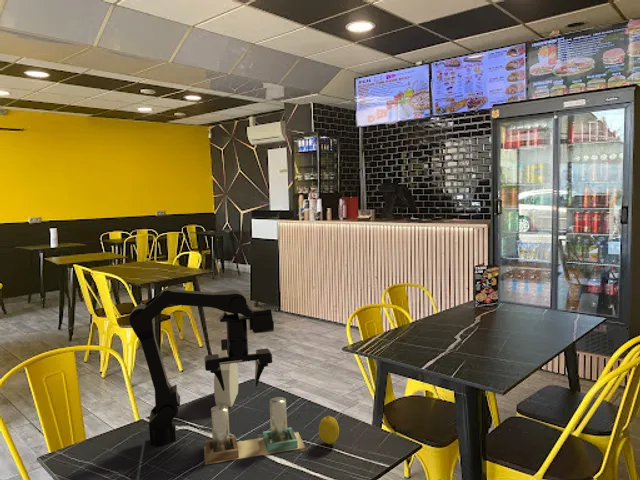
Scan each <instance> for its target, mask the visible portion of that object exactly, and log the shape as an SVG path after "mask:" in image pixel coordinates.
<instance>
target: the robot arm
mask: <svg viewBox="0 0 640 480" xmlns="http://www.w3.org/2000/svg"><path fill="white" fill-rule="evenodd" d="M170 305H173V306H186V307H201V308H202V307H203V308H213V309H217V310H218V311H223V313H222V314H221V316H220V317H218V319H219V322H220V323H226V324H225V325H226V338H225V339H224V338H223V339H220V348H221V349H220V351H223V350H227V355H228V357H221V358H219V353H217V354H206V355H205V356H204V368H205V369H204V370H205V371H207V372H210V374H214V375H216V377H217V378H218V380H219V382H220V385H221V387H222V390H223V391H224V382H223V377H222V373H221V367H220V365H221V364H230V363H237V364H239V363H244V362H254V361H255V367H254V371H255V372H254V386H255V388H257V387H258V384H259V381H260V380H261V379H260V378H261V375H262V374H263V371H264V369H265V368H266V367H268V366H269V364H273V355H272V352H271V350H270V349H269V348H260V349H255V350H256V351H255V353H249V341H248V338H249V337H248V330H249V331H252V333H253V335H255V334H262V333H272V332H274V331H275V329H274V327H275V326H274V325H275V324H274V322H275V321H274V318H273V313H272V308H270V307H266V308H263V309H262V308H261V309H252V307H251V306H249V305H248V304H247V299H246V297H245V295H244V294H243V293H242V292H241V291H240V290H237V289H231V290H229V289H228V290H222V291H217V292H216V291H214V292H210V291H209V292H207V291H198V290H197V291H196V290H185V289H172V288H169V287H168V288H167V287H166V288H164V289H163V288H162V290H161V291H160V292H159V293H158V294H156V295H155V296H153V297H152V298H150V299H149V300H148V301H146V302H145V303H140V304H138V305H136V306H135V307H133V309H132V311H131V313H130V315H129V319H128V321H129V324H130V327H131V328H132V330H133V332H134V334H135V336H136V337H137V339H138V340H139V342H140V344H141V347H142V351H143V354H144V358H145V361H146V364H147V368H148V372H149V376H150V379H151V381H152V384H153V388H154V403H155V405H154V407H152V409H151V410H150V412H149V413H150V414H149V419H148V433H149V434H148V436H149V446H155V447H162V446H165V445H169V444H171V443H173V442H176V441H177V428H176V423H174V419H175V418H176V417H177V415H178V413H179V407H180V406H181V395H180V394H179V393H178V387H177V386H178V385H177V384H175V385H172V384H171V383H170V382H169V379H168V375H167V372H166V368H165V365H164V362H163V359H162V355H161V351H160V348H159V345H158V341H157V337H156V329H155V324H156V323H155V318H156V317H157V316H158V315H159V314H161V313H162V312H163V311H164V310H165V309H166V308H168V306H170ZM239 314H240V315H239ZM247 320H248V324H247Z"/></svg>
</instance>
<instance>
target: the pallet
mask: <svg viewBox="0 0 640 480" xmlns="http://www.w3.org/2000/svg"><path fill="white" fill-rule="evenodd" d="M287 435H288V440H287V441H280V442H274V443H272V442H271V429H270V430H265V431H262V437H259V438H252V439H246V440H239V441H237V438H236V435H234V436H230V450H225V451H219V452H213V438H212V439H207V440H205V446H203V452H204V453H203V455H204V456H203V457H204V465H211V464H216V463H217V464H218V463H222V462H223V463H224V462H228V461H233V460H241V459H246V458H253V457H257V456H264V455H265V456H266V455H270V454H277V453H283V452H288V451H295V450H300V452H301V453H304V452H306V449H307V448H306V445H305V444H304V441H303V439H302V438H301V435H300V434H299V431H296V432H295V431H294V430H293V428H292V426H291V427H290V426H289V427H287Z"/></svg>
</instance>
